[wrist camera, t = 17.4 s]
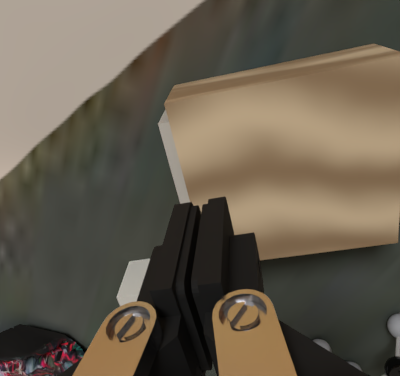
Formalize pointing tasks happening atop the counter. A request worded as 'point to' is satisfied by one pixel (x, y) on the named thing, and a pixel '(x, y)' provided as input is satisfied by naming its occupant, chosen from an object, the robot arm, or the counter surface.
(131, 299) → the block
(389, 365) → the molecular model
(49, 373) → the fabric swatch
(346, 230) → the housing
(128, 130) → the counter surface
